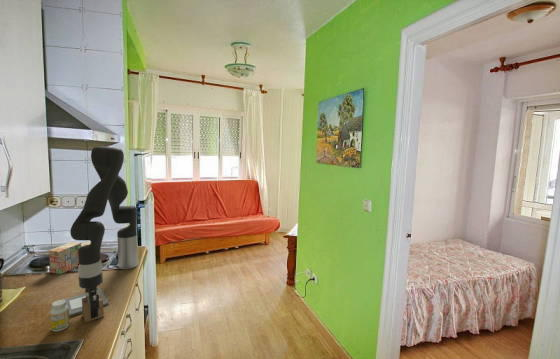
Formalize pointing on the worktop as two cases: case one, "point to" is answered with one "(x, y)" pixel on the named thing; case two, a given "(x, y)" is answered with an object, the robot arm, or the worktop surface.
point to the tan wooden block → (87, 310)
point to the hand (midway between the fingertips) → (93, 312)
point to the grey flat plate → (80, 303)
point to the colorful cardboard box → (65, 257)
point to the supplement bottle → (59, 315)
